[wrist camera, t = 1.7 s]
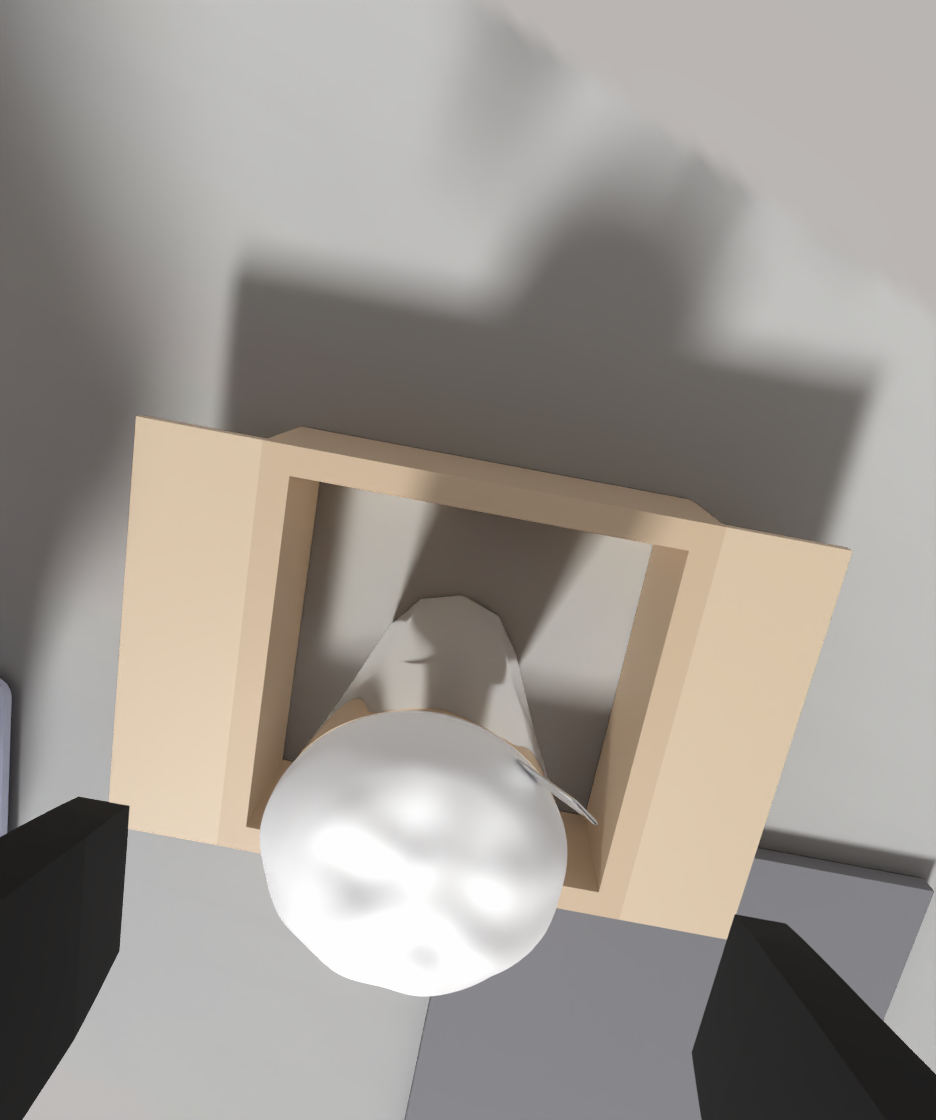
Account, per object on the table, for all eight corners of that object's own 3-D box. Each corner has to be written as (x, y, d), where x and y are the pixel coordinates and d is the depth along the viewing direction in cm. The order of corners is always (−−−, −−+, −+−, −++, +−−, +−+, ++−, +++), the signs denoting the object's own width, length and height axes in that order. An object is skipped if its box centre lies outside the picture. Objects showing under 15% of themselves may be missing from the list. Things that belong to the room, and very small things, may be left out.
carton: (695, 857, 21) (728, 939, 18) (163, 758, 20) (107, 825, 18) (796, 519, 18) (852, 551, 15) (194, 406, 18) (135, 416, 15)
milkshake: (604, 644, 19) (707, 939, 10) (442, 771, 20) (387, 1153, 11) (482, 507, 18) (459, 676, 9) (320, 646, 19) (141, 933, 10)
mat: (792, 1216, 23) (798, 1234, 23) (399, 1144, 23) (397, 1161, 23) (924, 879, 20) (934, 891, 20) (471, 794, 20) (471, 805, 20)
